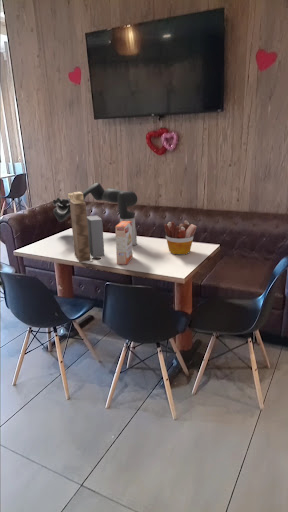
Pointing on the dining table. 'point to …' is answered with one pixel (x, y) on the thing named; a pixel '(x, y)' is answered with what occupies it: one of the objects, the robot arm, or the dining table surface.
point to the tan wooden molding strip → (76, 197)
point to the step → (95, 236)
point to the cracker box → (124, 242)
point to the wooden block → (80, 231)
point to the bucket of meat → (179, 237)
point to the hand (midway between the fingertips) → (65, 198)
